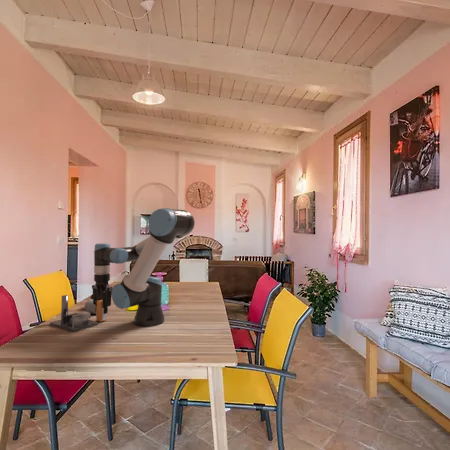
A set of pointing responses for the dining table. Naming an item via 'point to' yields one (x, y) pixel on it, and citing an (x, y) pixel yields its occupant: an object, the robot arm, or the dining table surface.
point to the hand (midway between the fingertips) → (101, 319)
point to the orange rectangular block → (99, 310)
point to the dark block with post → (70, 319)
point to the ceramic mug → (90, 307)
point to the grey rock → (80, 318)
